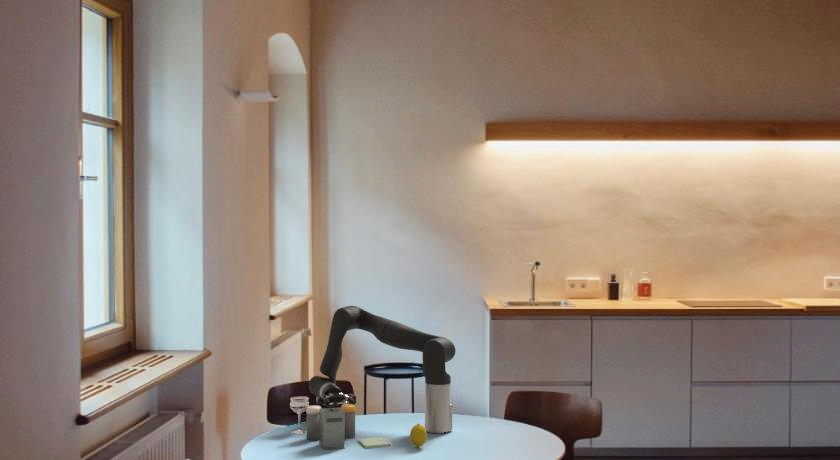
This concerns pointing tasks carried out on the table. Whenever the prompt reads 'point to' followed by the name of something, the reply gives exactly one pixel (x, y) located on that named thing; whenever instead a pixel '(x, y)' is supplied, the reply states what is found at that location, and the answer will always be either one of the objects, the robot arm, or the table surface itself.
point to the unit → (332, 428)
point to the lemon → (418, 435)
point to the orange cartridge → (349, 420)
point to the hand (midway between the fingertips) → (340, 403)
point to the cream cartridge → (313, 423)
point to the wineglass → (299, 409)
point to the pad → (374, 442)
